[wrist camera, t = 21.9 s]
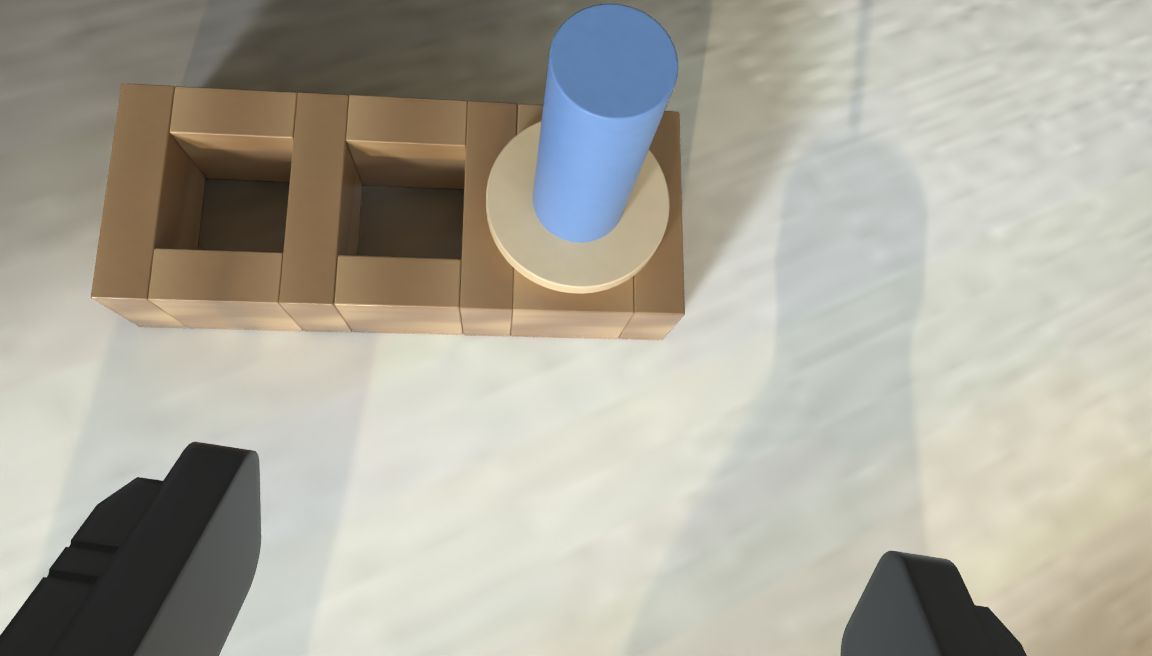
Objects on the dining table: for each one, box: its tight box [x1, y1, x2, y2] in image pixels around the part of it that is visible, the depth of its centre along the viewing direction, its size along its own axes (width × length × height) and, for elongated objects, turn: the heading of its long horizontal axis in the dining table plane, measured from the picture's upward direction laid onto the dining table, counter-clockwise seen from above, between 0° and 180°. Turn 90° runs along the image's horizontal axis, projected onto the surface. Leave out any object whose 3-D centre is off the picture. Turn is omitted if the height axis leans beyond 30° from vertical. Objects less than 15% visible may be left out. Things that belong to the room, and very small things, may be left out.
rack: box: [91, 84, 685, 340], centre depth 32 cm, size 20×8×4 cm, turn 90°
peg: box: [486, 4, 678, 294], centre depth 27 cm, size 6×6×13 cm
